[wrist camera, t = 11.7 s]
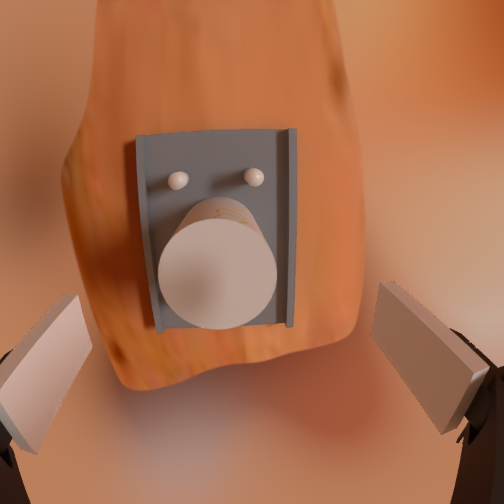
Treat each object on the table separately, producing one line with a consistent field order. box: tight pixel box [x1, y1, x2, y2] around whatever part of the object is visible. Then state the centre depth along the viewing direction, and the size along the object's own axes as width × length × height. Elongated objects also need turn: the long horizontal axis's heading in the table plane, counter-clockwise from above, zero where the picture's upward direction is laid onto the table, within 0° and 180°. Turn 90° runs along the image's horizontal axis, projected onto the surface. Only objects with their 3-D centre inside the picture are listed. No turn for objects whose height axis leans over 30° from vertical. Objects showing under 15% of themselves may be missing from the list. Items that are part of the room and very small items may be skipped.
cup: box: [158, 197, 277, 330], centre depth 26 cm, size 8×8×12 cm
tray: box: [136, 128, 297, 333], centre depth 30 cm, size 22×16×5 cm
